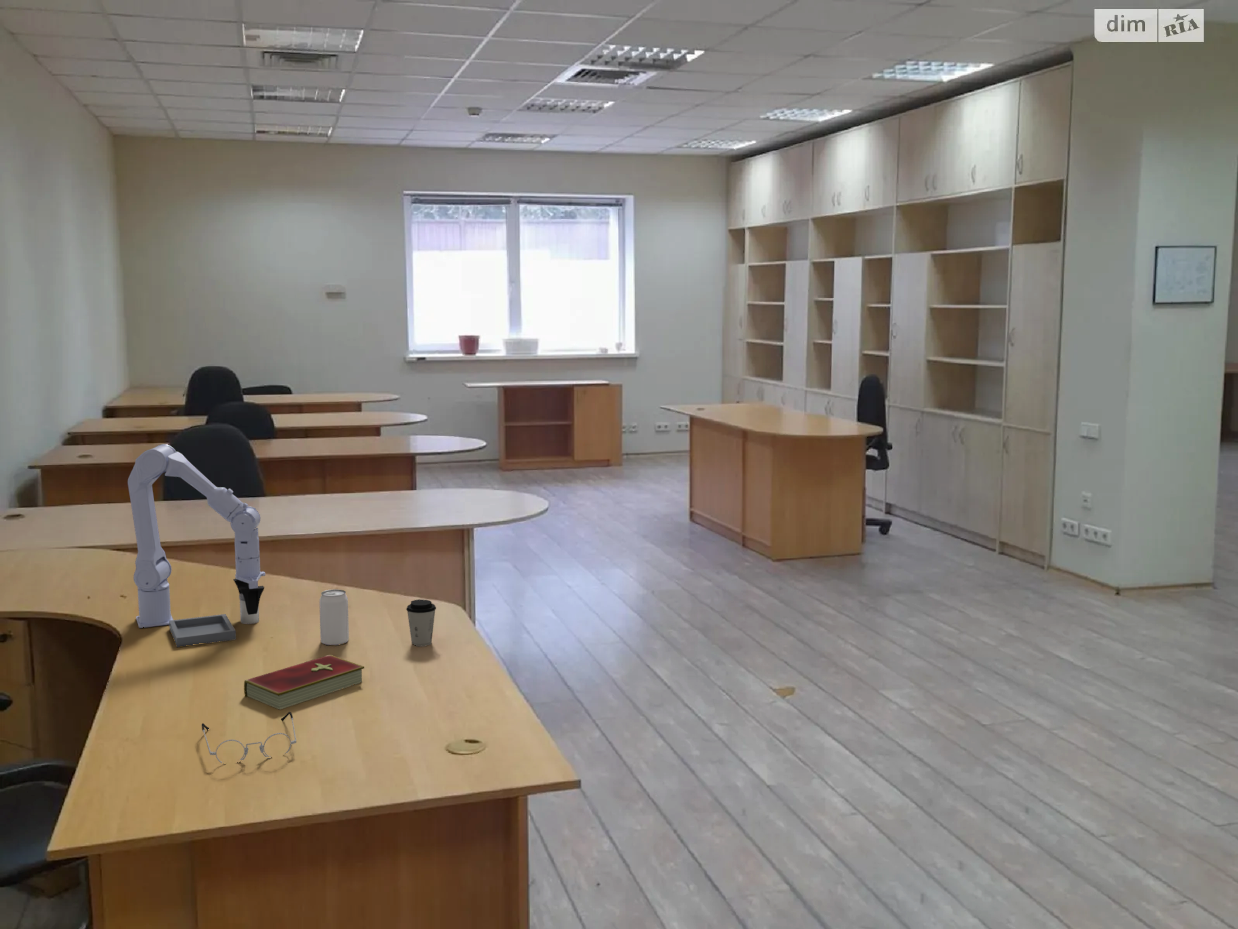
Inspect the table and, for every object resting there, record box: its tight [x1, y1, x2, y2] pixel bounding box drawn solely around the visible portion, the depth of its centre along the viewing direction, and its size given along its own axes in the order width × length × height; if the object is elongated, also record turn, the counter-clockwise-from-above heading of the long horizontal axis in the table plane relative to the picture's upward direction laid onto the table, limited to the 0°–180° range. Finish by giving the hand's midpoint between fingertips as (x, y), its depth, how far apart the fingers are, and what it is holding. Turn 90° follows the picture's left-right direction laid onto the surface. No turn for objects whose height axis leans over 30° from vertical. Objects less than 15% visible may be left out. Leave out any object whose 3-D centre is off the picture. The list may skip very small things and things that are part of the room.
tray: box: [168, 613, 237, 648], centre depth 259 cm, size 15×13×2 cm
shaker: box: [238, 593, 260, 625], centre depth 269 cm, size 5×5×7 cm
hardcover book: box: [243, 654, 365, 710], centre depth 224 cm, size 12×21×4 cm, turn 142°
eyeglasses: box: [201, 711, 297, 764], centre depth 197 cm, size 16×19×5 cm
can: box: [319, 588, 350, 646], centre depth 254 cm, size 6×6×12 cm
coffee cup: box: [405, 599, 437, 647], centre depth 254 cm, size 7×7×10 cm
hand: (249, 609), depth 269 cm, fingers open, 7 cm apart
